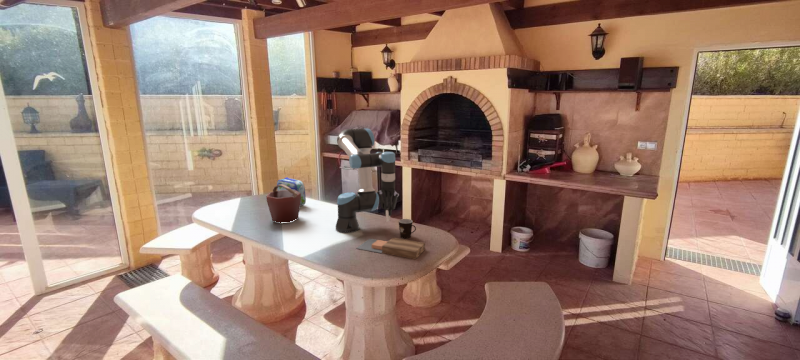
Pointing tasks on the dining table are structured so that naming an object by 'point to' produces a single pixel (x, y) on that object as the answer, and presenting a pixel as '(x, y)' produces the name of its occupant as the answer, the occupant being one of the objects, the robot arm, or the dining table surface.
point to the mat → (369, 246)
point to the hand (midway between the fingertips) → (388, 220)
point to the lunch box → (293, 187)
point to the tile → (378, 244)
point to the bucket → (284, 204)
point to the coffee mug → (405, 228)
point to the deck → (403, 248)
